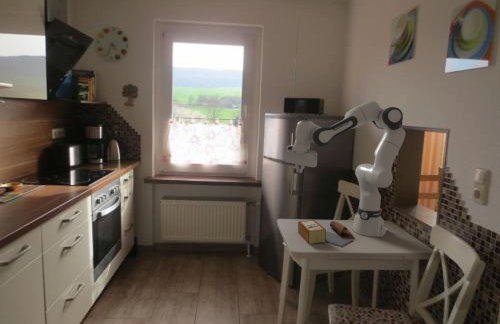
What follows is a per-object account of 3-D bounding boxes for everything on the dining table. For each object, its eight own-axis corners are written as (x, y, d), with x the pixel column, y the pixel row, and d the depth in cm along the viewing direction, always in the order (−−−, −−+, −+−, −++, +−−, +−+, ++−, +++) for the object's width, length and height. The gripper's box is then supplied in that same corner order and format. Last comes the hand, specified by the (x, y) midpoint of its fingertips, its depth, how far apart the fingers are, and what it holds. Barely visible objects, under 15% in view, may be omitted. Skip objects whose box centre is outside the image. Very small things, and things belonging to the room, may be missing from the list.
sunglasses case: (355, 237, 180) (350, 226, 179) (344, 243, 180) (339, 232, 179) (343, 226, 198) (338, 217, 197) (332, 232, 198) (328, 222, 197)
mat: (327, 232, 188) (327, 231, 188) (353, 240, 178) (353, 239, 178) (314, 237, 178) (314, 236, 178) (341, 247, 168) (341, 245, 168)
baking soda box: (298, 232, 185) (308, 244, 169) (298, 221, 184) (308, 232, 168) (314, 231, 187) (326, 242, 171) (314, 219, 186) (326, 230, 170)
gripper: (320, 150, 185) (317, 175, 187) (290, 146, 198) (288, 169, 200) (314, 151, 180) (311, 176, 182) (284, 146, 194) (281, 169, 196)
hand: (299, 172), depth 191 cm, fingers closed
